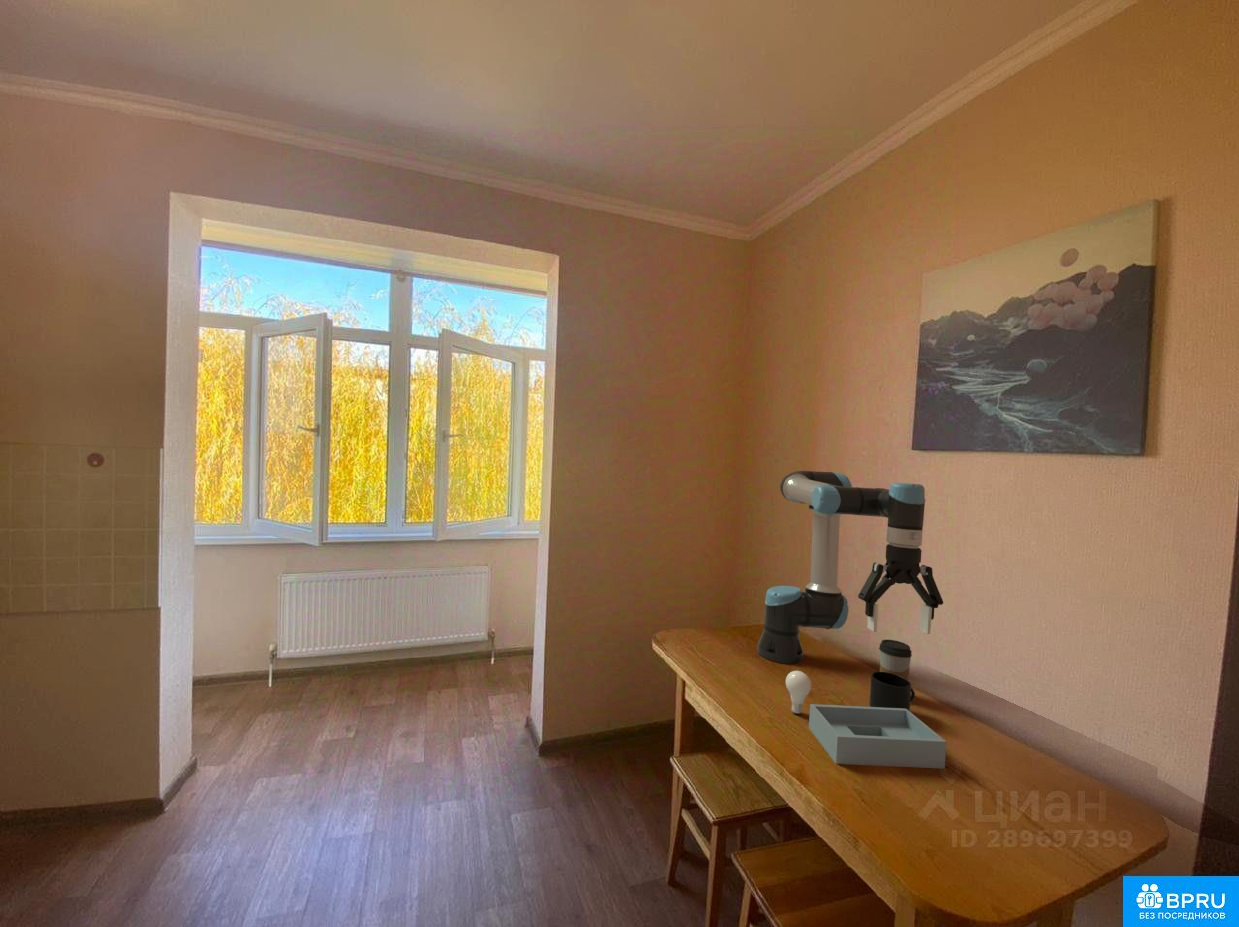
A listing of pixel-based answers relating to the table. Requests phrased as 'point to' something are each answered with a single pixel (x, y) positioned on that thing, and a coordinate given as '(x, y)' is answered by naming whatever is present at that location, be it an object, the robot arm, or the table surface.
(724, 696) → the table surface
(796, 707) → the lightbulb
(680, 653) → the table surface
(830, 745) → the socket box
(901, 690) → the mug
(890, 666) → the coffee cup
